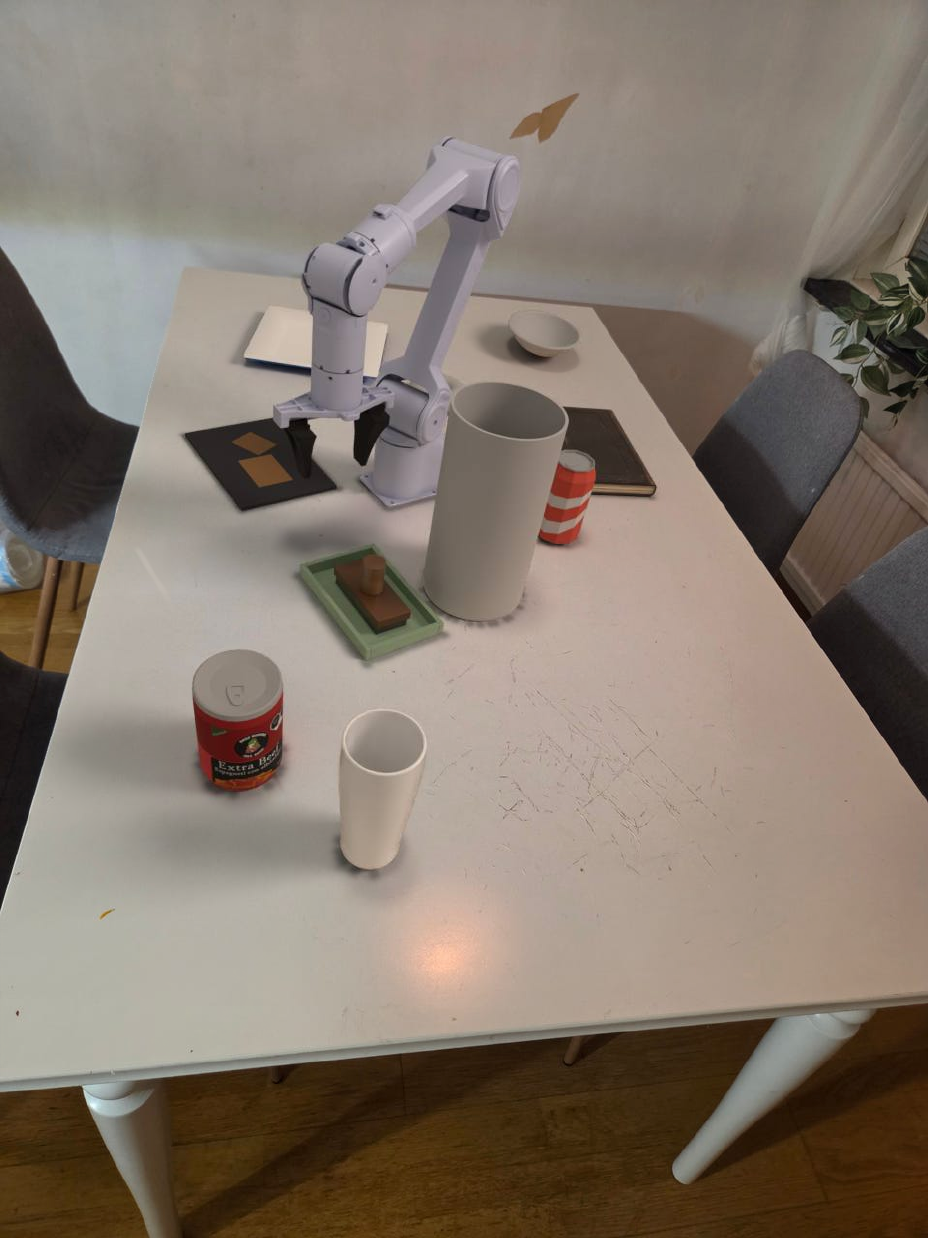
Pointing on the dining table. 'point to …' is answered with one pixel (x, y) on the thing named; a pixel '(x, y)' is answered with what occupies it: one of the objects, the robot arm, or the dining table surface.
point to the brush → (372, 593)
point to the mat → (256, 463)
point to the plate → (304, 340)
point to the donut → (451, 382)
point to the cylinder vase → (491, 497)
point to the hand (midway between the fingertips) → (332, 467)
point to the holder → (351, 621)
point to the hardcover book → (607, 452)
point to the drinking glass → (378, 784)
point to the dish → (544, 332)
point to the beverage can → (568, 497)
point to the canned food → (238, 718)
